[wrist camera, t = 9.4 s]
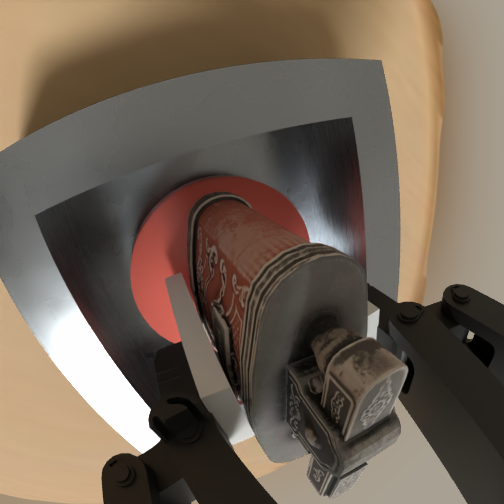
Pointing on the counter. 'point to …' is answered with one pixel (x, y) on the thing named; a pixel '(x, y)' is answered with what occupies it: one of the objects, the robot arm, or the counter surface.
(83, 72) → the counter surface
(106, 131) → the grey open box
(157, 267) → the button
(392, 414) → the lighter
